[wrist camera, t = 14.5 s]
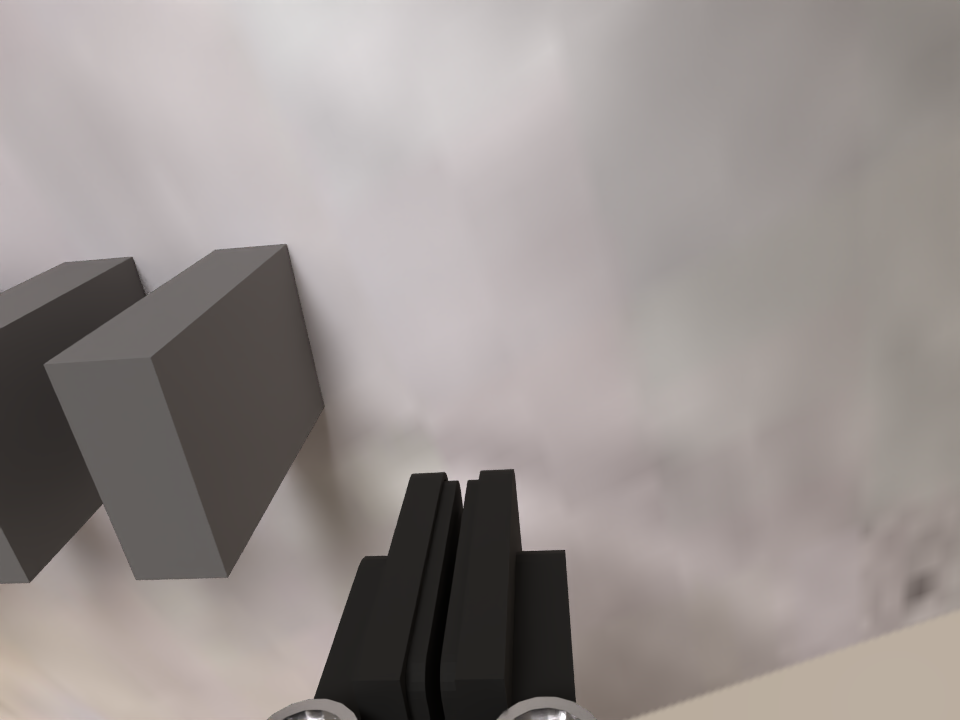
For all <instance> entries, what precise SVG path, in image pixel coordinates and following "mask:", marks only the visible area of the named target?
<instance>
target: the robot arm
mask: <svg viewBox="0 0 960 720" xmlns="http://www.w3.org/2000/svg"><path fill="white" fill-rule="evenodd" d="M267 720H597V719H596V718H595V717H594V716H593V714H592V713H591V712H590V711H588V710H586V709H585V708H583V707H581V706H580V705H578V704H576V698H575V684H574V670H573V656H572V641H571V627H570V613H569V599H568V585H567V571H566V557H565V550H549V551H522V545H521V535H520V524H519V513H518V502H517V492H516V481H515V473H514V469H506V470H484V471H480V476H479V480H468V482H467V488H466V494H465V501H464V508H463V504H462V497H461V489H460V484H459V481H448V478H447V475H446V473H445V472H440V473H418V474H412V475H411V477H410V480H409V483H408V487H407V490H406V494H405V497H404V501H403V504H402V508H401V511H400V515H399V518H398V521H397V525H396V528H395V532H394V535H393V539H392V542H391V546H390V549H389V553H388V556H365V557H364V558H363V559H362V561H361V563H360V565H359V567H358V570H357V573H356V576H355V579H354V582H353V585H352V588H351V591H350V594H349V597H348V600H347V603H346V606H345V609H344V611H343V614H342V617H341V620H340V623H339V626H338V629H337V632H336V635H335V638H334V641H333V644H332V647H331V650H330V653H329V656H328V659H327V662H326V665H325V667H324V670H323V673H322V676H321V679H320V682H319V685H318V688H317V691H316V694H315V697H314V699H308V700H304V701H301V702H297V703H294V704H291V705H289V706H287V707H285V708H283V709H281V710H280V711H278V712H276V713H274V714H273V715H271V716H270V717H269V718H268V719H267Z"/></svg>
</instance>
